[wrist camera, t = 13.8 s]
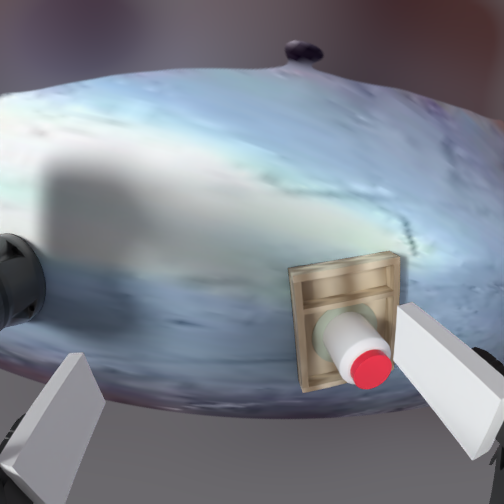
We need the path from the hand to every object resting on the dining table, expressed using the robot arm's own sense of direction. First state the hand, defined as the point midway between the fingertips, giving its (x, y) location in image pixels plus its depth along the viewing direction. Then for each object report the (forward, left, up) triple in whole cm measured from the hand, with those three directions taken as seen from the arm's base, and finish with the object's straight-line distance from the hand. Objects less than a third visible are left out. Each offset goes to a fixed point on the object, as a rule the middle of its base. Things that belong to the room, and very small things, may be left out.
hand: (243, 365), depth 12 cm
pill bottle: (+15, -19, -31) cm, 39 cm away
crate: (+15, -17, -32) cm, 39 cm away
